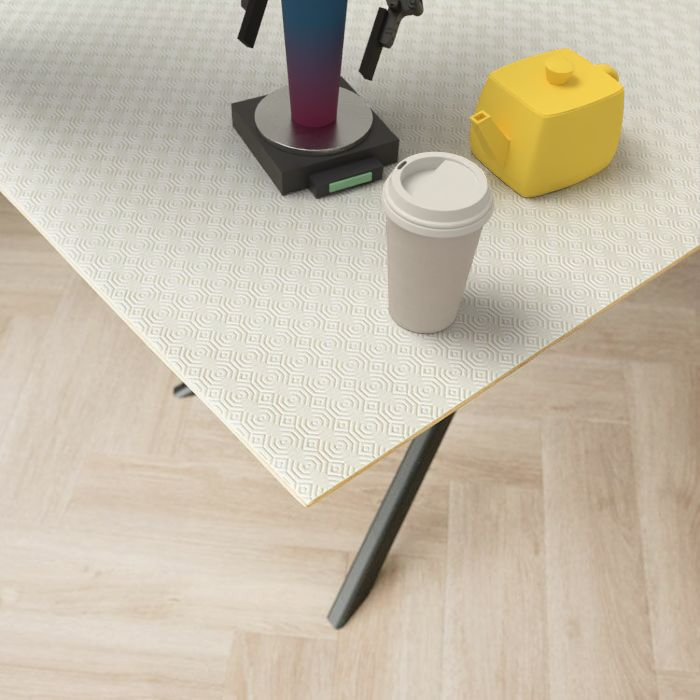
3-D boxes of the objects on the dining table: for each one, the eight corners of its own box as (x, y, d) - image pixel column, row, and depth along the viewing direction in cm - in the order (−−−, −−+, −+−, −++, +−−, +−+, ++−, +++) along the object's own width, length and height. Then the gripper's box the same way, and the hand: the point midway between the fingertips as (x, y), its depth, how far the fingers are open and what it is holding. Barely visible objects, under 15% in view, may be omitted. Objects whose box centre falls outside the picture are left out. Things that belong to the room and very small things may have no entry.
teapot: (496, 219, 95) (515, 123, 86) (428, 157, 102) (439, 62, 93) (636, 163, 102) (666, 68, 94) (564, 108, 109) (586, 16, 101)
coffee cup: (430, 261, 90) (447, 133, 79) (494, 318, 85) (522, 190, 74) (352, 298, 86) (358, 169, 75) (414, 361, 81) (431, 232, 70)
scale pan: (236, 104, 102) (236, 98, 102) (339, 79, 107) (340, 73, 106) (284, 168, 95) (284, 162, 94) (393, 138, 99) (394, 132, 98)
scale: (232, 126, 105) (230, 103, 102) (341, 98, 109) (341, 76, 107) (291, 207, 95) (290, 184, 93) (407, 173, 100) (409, 151, 98)
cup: (346, 99, 102) (350, -32, 91) (343, 134, 98) (347, 1, 87) (285, 96, 102) (282, -36, 91) (280, 131, 98) (276, -3, 87)
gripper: (492, -104, 92) (424, 100, 93) (271, -150, 98) (212, 42, 100) (483, -143, 84) (410, 79, 86) (245, -191, 91) (181, 18, 92)
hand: (304, 60), depth 93 cm, fingers open, 13 cm apart
